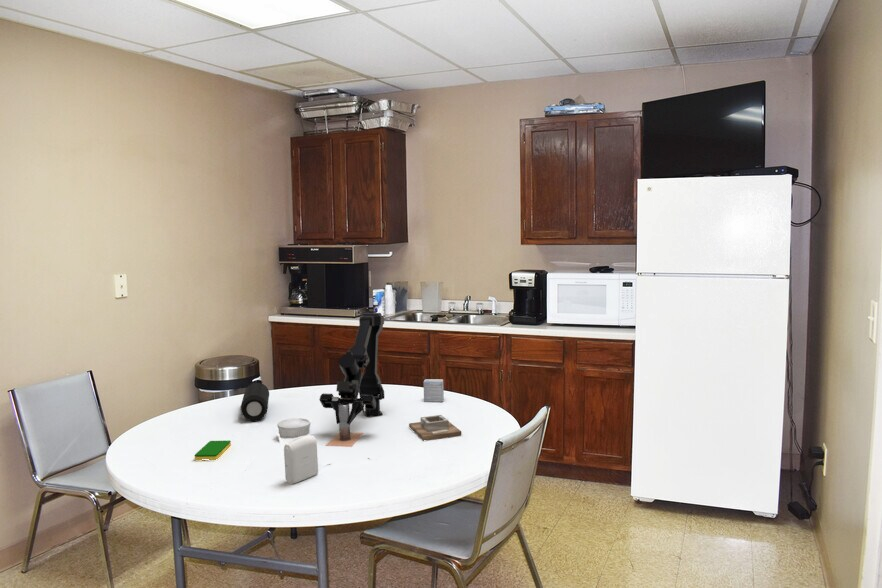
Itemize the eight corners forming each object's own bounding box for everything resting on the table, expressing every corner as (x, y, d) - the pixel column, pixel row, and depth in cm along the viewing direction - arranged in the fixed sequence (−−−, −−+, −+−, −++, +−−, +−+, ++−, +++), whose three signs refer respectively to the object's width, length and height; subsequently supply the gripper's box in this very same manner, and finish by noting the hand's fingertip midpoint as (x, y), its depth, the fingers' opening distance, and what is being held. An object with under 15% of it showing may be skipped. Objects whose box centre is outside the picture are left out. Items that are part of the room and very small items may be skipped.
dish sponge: (194, 462, 210) (194, 454, 210) (210, 447, 224) (210, 440, 224) (216, 462, 210) (216, 454, 210) (231, 447, 224) (230, 440, 223)
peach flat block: (339, 436, 231) (339, 432, 231) (364, 437, 229) (364, 433, 229) (325, 450, 217) (325, 445, 217) (351, 451, 216) (351, 446, 216)
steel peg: (338, 438, 224) (337, 403, 223) (349, 436, 226) (347, 402, 224) (340, 441, 221) (339, 406, 220) (351, 440, 222) (350, 405, 221)
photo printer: (292, 485, 189) (290, 443, 187) (283, 481, 191) (281, 440, 190) (320, 474, 197) (318, 434, 195) (311, 471, 199) (309, 431, 198)
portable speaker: (268, 421, 250) (266, 395, 249) (240, 424, 248) (239, 398, 247) (270, 403, 275) (268, 380, 274) (245, 405, 273) (243, 382, 272)
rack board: (409, 427, 239) (408, 415, 239) (445, 422, 244) (445, 410, 244) (423, 440, 224) (422, 428, 224) (461, 435, 229) (461, 422, 229)
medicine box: (443, 399, 276) (443, 379, 275) (442, 402, 272) (442, 381, 271) (425, 399, 277) (424, 379, 276) (423, 402, 272) (423, 381, 271)
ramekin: (317, 436, 232) (316, 421, 231) (290, 444, 224) (289, 429, 223) (298, 430, 239) (298, 415, 239) (271, 437, 231) (271, 423, 231)
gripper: (320, 370, 226) (309, 411, 217) (372, 371, 223) (364, 413, 213) (328, 387, 235) (319, 427, 225) (379, 388, 232) (372, 429, 222)
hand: (343, 423), depth 221 cm, fingers closed on steel peg, 4 cm apart
